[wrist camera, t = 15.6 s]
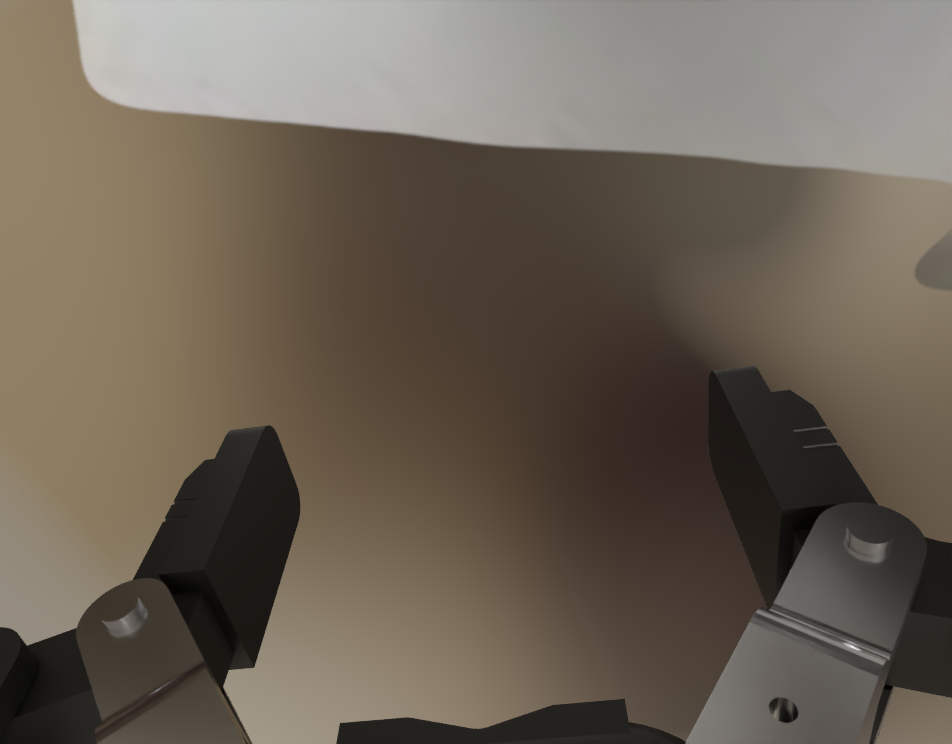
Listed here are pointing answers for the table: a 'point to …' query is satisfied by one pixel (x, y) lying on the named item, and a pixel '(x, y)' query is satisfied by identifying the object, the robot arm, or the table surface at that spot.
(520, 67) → the table surface
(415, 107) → the table surface
